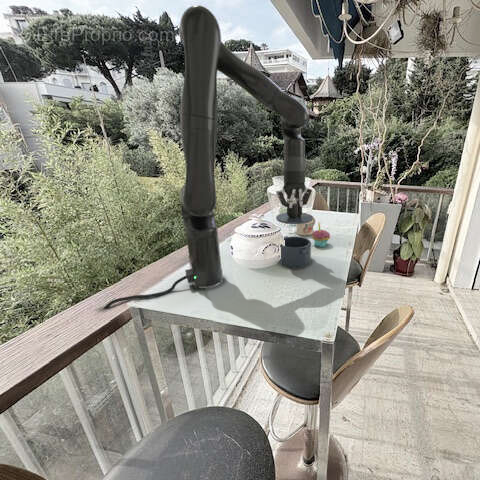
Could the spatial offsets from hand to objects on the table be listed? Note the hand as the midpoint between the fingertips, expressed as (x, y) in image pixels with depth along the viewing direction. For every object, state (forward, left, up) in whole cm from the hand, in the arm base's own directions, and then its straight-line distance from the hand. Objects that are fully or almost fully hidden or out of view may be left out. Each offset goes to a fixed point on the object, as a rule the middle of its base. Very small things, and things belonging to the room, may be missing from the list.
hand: (294, 216), depth 98 cm
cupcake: (+20, +12, -20) cm, 30 cm away
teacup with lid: (+23, +30, -20) cm, 42 cm away
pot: (+1, +2, -20) cm, 20 cm away
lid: (0, 0, -1) cm, 1 cm away
